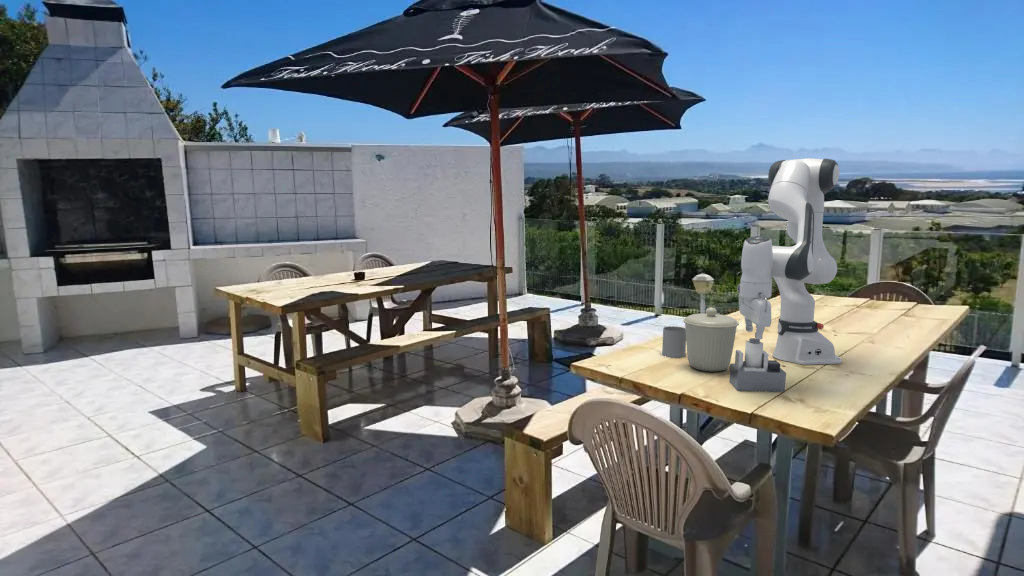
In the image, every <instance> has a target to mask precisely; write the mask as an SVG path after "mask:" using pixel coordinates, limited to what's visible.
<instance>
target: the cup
mask: <svg viewBox="0 0 1024 576" xmlns="http://www.w3.org/2000/svg"><path fill="white" fill-rule="evenodd" d="M661 352H662V353H661V356H663V357H665V356H666V357H665V358H669V357H671V358H670V359H682V357H683V358H685V357H686V352H687V345H686V330H685V327H681V326H671V325H670V326H665V327H663V328H662V350H661Z"/></svg>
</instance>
